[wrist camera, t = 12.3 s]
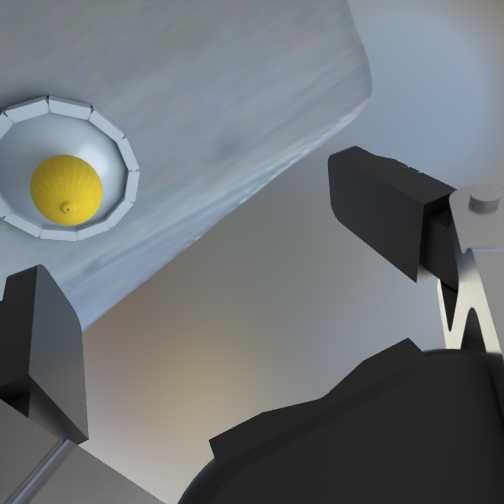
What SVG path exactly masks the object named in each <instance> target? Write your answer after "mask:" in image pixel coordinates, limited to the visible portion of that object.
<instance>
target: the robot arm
mask: <svg viewBox="0 0 504 504" xmlns="http://www.w3.org/2000/svg"><path fill="white" fill-rule="evenodd" d="M328 174H329V186H330V199H331V207H332V210H333V212H334V214H335V216H336V218H337V219H338V221H339V222H341V223H342V224H343V225H344V226H345V227H347V228H348V229H349V230H351V231H352V232H353V233H354V234H355V235H357V236H358V237H359V238H360V239H362V240H363V241H364V242H365V243H367V244H368V245H369V246H370V247H372V248H373V249H374V250H375V251H377V252H378V253H379V254H380V255H382V256H383V257H384V258H385V259H387V260H388V261H389V262H390V263H392V264H393V265H394V266H395V267H397V268H398V269H399V270H400V271H402V272H403V273H404V274H405V275H407V276H408V277H409V278H411V279H412V280H413V281H414V282H416V283H419V282H421V281H423V280H425V279H427V278H429V277H431V276H433V275H434V276H436V277H437V278H438V284H437V291H438V297H439V304H440V310H441V317H442V322H443V329H444V336H445V343H446V349H432V350H424V351H421V350H420V349H419V348H418V347H417V346H416V345H415V344H414V343H413V342H412V341H411V340H410V339H409V338H407V339H405V340H403V341H401V342H399V343H397V344H395V345H393V346H391V347H389V348H387V349H385V350H383V351H381V352H380V353H378V354H376V355H374V356H372V357H370V358H368V359H366V360H364V361H363V362H361V363H360V364H359V365H358V366H357V367H356V368H355V369H354V370H353V371H352V372H351V373H349V375H347V376H346V377H345V378H344V379H343V380H342V381H341V382H340V383H339V384H338V385H336V386H335V387H334V388H333V389H332V390H331V391H330V392H329V393H328V394H327V395H325V396H324V397H322V398H320V399H317V400H313V401H309V402H305V403H301V404H296V405H292V406H288V407H284V408H279V409H275V410H271V411H267V412H263V413H260V414H259V415H257V416H255V417H253V418H251V419H249V420H247V421H245V422H243V423H241V424H239V425H237V426H235V427H233V428H232V429H229V430H227V431H225V432H223V433H222V434H220V435H218V436H216V437H214V438H212V439H210V440H209V442H210V446H211V448H212V451H213V454H214V457H215V458H214V459H213V460H211V461H210V462H209V463H208V464H207V465H206V466H205V467H204V468H203V469H202V470H201V472H199V474H198V475H197V476H196V477H195V478H194V479H193V481H192V482H191V483H190V485H189V486H188V488H187V489H186V490H185V492H184V493H183V495H182V497H181V498H180V500H179V502H178V504H504V188H501V187H496V186H491V185H472V186H467V187H463V188H460V189H458V190H457V189H455V188H453V187H451V186H449V185H447V184H444V183H443V182H441V181H439V180H437V179H434V178H432V177H430V176H428V175H426V174H424V173H420V172H419V171H418V170H416V169H414V168H411V167H410V168H408V166H407V165H405V164H403V163H401V162H399V161H397V160H395V159H391V158H386V157H380V156H376V155H374V154H372V153H369V152H368V151H366V150H364V149H362V148H360V147H357V146H353V147H350V148H348V149H345V150H343V151H340V152H337V153H334V154H332V155H330V157H329V159H328ZM83 362H84V361H83V346H82V331H81V325H80V322H79V319H78V317H77V314H76V312H75V310H74V309H73V307H72V306H71V304H70V303H69V301H68V300H67V298H66V297H65V295H64V294H63V292H62V291H61V289H60V288H59V286H58V285H57V283H56V282H55V281H54V279H53V278H52V276H51V275H50V273H49V272H48V270H47V269H46V268H45V267H44V266H43V265H41V264H39V265H36V266H34V267H31V268H29V269H26V270H23V271H21V272H18V273H15V274H13V275H10V276H8V277H7V279H6V284H5V289H4V295H3V300H2V301H0V504H165V503H163V502H162V501H160V500H159V499H157V498H156V497H155V496H153V495H151V494H150V493H149V492H147V491H145V490H144V489H143V488H141V487H139V486H138V485H136V484H135V483H133V482H132V481H130V480H129V479H127V478H126V477H125V476H123V475H122V474H120V473H118V472H117V471H115V470H114V469H113V468H111V467H110V466H108V465H107V464H105V463H103V462H102V461H100V460H99V459H98V458H96V457H94V456H93V455H91V454H90V453H88V452H87V451H85V450H84V449H83V448H81V447H80V446H78V445H79V444H81V443H83V442H85V441H87V440H89V437H88V422H87V407H86V393H85V376H84V363H83Z"/></svg>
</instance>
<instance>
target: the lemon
mask: <svg viewBox="0 0 504 504" xmlns="http://www.w3.org/2000/svg"><path fill="white" fill-rule="evenodd" d="M30 193H31V197H32V201H33V203H34V204H35V206H36V208H37V210H38V211H39V212H40V213H41V214H42V215H43V216H44V217H45V218H47V219H48V220H50V221H52V222H54V223H57V224H59V225H66V226H70V225H77V224H81V223H83V222H85V221H87V220H89V219H90V218H91V217H92V216H93V215H94V214H95V213H96V212H97V210H98V208H99V207H100V204H101V200H102V196H103V193H102V184H101V181H100V177H99V176H98V174H97V173H96V171H95V169H94V168H93V167H92V166H91V165H90V164H89V163H87V162H86V161H84V160H82V159H81V158H78V157H75V156H72V155H56V156H53V157H50V158H47V159H46V160H44V161H43V162H42V163H40V164H39V165H38V167H37V168H36V169H35V170H34V172H33V175H32V178H31V181H30Z"/></svg>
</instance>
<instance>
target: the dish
mask: <svg viewBox="0 0 504 504" xmlns="http://www.w3.org/2000/svg"><path fill="white" fill-rule="evenodd" d="M56 155H72V156H75V157H78V158H81V159H82V160H84V161H86V162H87V163H89V164H90V165H91V166H92V167H93V168H94V169H95V171H96V173H97V174H98V176H99V177H100V181H101V184H102V193H103V196H102V200H101V204H100V207H99V208H98V210H97V212H96V213H95V214H94V215H93V216H92V217H91V218H90V219H89V220H87V221H85V222H83V223H81V224H77V225H70V226H66V225H59V224H57V223H54V222H52V221H50V220H48V219H47V218H45V217H44V216H43V215H42V214H41V213H40V212H39V211H38V210H37V208H36V206H35V204H34V203H33V201H32V197H31V193H30V181H31V178H32V175H33V172H34V170H35V169H36V168H37V167H38V165H39V164H40V163H42V162H43V161H44V160H46V159H47V158H50V157H53V156H56ZM139 174H140V171H139V166H138V164H137V162H136V159H135V157H134V154H133V152H132V149H131V147H130V144H129V142H128V139H127V137H126V135H125V133H124V132H123V130H122V129H121V128H120V127H118V126H117V125H116V124H115V123H113V122H112V121H111V120H110V119H109V118H107V117H106V116H105V115H104V114H102V113H101V112H100V111H99V110H98V109H96V108H95V107H94V106H92V107H90V104H87V103H82V102H78V101H73V100H69V99H64V98H60V97H55V96H51V95H49V98H47V96H46V95H45V96H42V97H39V98H35V99H32V100H29V101H25V102H22V103H18V104H15V105H12V106H8V107H7V108H6V109H4V110H3V111H2V112H1V114H0V217H4V219H3V220H5V221H6V222H8V223H10V224H12V225H14V226H16V227H18V228H20V229H22V230H24V231H26V232H28V233H29V234H31V235H33V236H35V237H38V236H39V235H40V234H41V238H40V239H56V240H71V241H77V236H78V238H79V240H82V239H85V238H88V237H90V236H93V235H96V234H98V233H101V232H104V231H106V230H109V229H111V227H110V226H112V227H114V226H115V225H116V223H117V222H118V221H119V220H120V219H121V218H122V217H123V216H124V214H125V213H126V212H127V211H128V210H129V209H130V208H131V207H132V205H133V202H135V197H136V191H137V185H138V179H139Z"/></svg>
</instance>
